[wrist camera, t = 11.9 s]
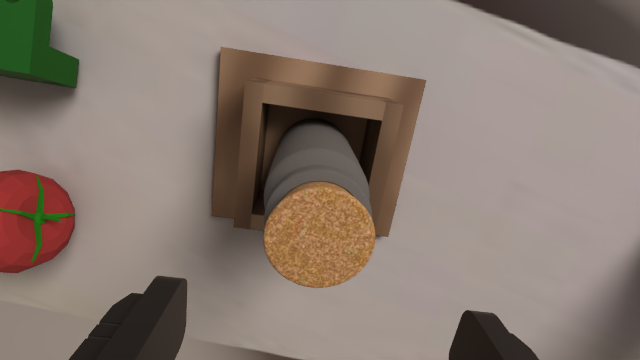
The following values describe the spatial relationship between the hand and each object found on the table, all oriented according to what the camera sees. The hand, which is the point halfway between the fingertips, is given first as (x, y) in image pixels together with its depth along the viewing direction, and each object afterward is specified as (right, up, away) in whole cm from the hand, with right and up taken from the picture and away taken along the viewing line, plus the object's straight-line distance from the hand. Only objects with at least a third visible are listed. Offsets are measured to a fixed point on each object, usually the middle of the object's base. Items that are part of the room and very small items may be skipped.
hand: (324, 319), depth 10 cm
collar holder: (-1, +7, +19) cm, 21 cm away
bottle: (-1, +6, +19) cm, 20 cm away
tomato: (-24, +2, +20) cm, 31 cm away
